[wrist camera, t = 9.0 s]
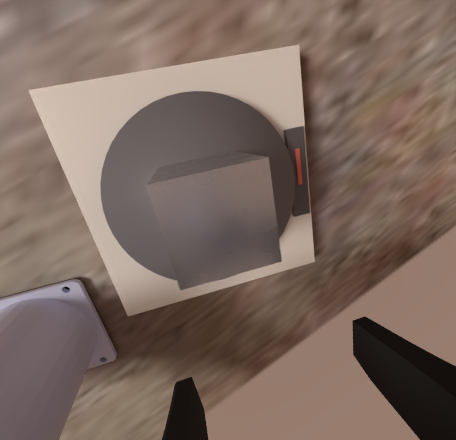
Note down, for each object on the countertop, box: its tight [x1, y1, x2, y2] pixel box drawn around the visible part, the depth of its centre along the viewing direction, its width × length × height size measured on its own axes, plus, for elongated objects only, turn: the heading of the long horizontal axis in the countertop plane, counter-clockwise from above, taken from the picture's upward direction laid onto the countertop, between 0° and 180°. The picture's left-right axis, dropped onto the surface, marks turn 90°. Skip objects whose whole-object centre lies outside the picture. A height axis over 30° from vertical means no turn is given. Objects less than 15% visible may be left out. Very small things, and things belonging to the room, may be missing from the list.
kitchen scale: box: [28, 45, 315, 316], centre depth 16 cm, size 15×15×2 cm
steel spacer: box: [146, 151, 282, 291], centre depth 12 cm, size 4×4×6 cm
